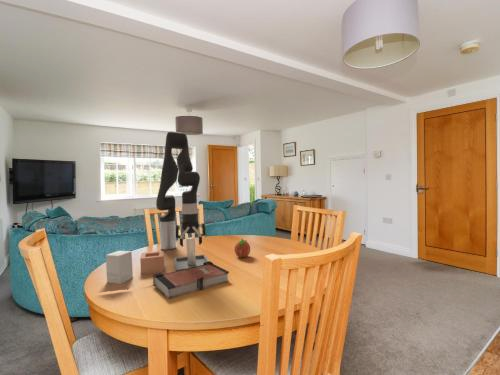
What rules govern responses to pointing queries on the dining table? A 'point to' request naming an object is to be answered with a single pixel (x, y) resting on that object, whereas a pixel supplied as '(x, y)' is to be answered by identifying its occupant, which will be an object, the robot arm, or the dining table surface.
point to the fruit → (242, 248)
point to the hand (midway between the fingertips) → (191, 245)
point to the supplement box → (119, 266)
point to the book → (189, 279)
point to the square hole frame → (152, 262)
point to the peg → (191, 252)
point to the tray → (182, 263)
